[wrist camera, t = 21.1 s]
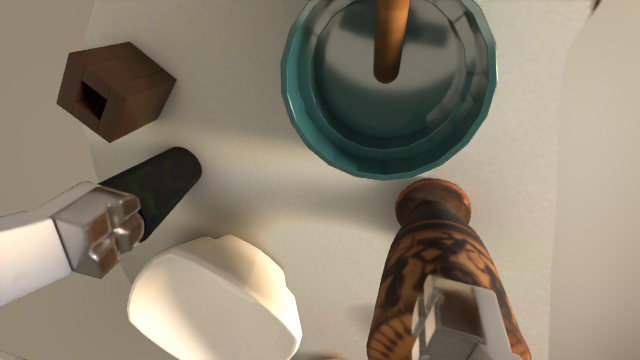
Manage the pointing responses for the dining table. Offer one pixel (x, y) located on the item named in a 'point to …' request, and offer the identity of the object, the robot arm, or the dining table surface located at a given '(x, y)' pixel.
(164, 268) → the bowl
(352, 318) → the dining table surface
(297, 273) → the dining table surface
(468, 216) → the vase
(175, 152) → the cup
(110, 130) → the holder
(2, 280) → the robot arm
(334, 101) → the mixing bowl
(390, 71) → the stick
